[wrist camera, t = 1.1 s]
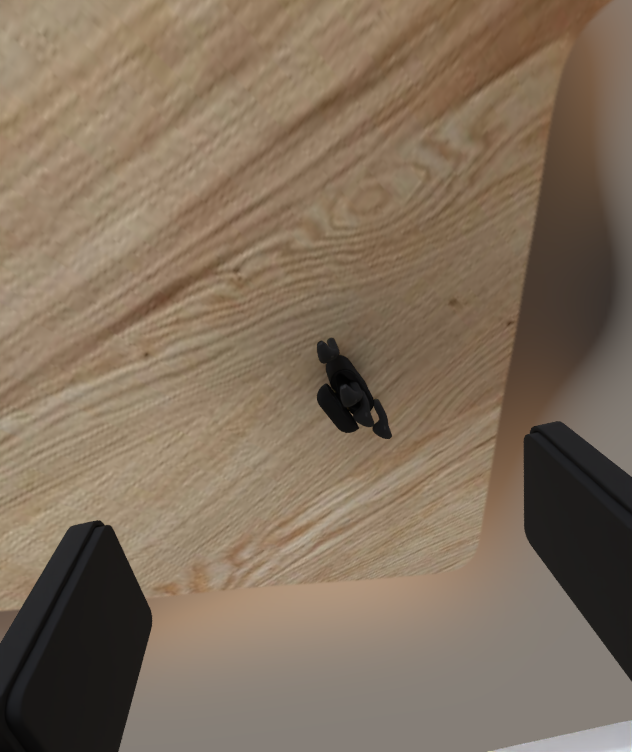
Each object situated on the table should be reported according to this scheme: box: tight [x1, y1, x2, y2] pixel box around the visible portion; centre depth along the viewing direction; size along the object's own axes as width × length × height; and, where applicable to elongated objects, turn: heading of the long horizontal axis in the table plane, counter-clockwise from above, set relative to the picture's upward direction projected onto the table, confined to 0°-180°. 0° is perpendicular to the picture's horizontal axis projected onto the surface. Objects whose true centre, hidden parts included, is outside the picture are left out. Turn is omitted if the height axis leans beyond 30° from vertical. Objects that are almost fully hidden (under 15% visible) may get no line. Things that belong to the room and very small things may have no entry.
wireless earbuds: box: [317, 338, 392, 439], centre depth 25 cm, size 7×2×5 cm, turn 35°
